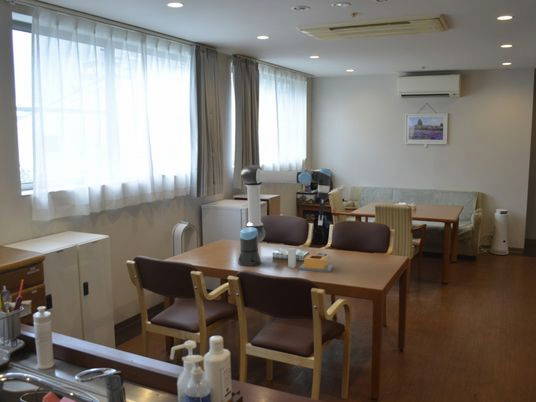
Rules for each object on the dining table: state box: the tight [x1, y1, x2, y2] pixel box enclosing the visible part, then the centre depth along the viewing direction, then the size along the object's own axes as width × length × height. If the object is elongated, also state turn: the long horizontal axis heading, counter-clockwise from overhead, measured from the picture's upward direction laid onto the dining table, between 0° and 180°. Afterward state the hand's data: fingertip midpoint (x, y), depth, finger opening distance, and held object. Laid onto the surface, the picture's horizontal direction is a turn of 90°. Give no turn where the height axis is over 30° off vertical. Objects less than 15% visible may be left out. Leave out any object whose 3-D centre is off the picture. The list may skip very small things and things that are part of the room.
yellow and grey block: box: [297, 254, 335, 273], centre depth 320 cm, size 20×12×8 cm, turn 71°
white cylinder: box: [287, 247, 297, 269], centre depth 325 cm, size 4×4×12 cm
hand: (320, 224), depth 330 cm, fingers open, 13 cm apart
